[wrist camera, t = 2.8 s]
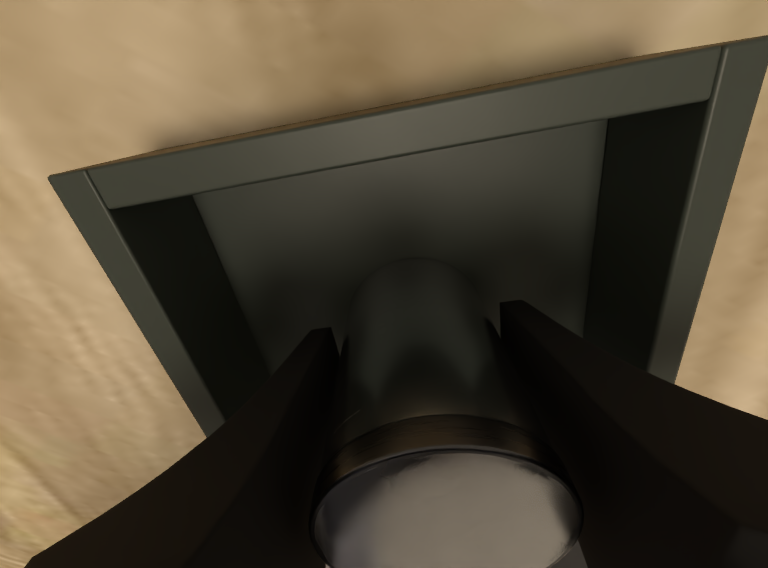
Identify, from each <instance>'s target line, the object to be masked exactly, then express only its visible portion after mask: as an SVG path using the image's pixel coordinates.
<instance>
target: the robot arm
mask: <svg viewBox="0 0 768 568" xmlns="http://www.w3.org/2000/svg"><path fill="white" fill-rule="evenodd" d="M500 335H501V341H502V343H503V345H504V347H505V349H506V351H507V353H508V355H509V357H510V359H511V362H512V364H513V366H514V368H515V370H516V372H517V374H518V376H519V378H520V380H521V382H522V385H523V387H524V389H525V391H526V393H527V395H528V397H529V399H530V401H531V403H532V406H533V408H534V410H535V412H536V414H537V416H538V418H539V420H540V422H541V424H542V426H543V429H544V431H545V433H546V435H547V437H548V439H549V441H550V443H551V445H552V447H553V449H554V451H555V452H556V453H557V454H558V456H559V457H560V458H561V460H562V461H563V463H564V465H565V467H566V469H567V471H568V473H569V475H570V477H571V480H572V482H573V484H574V486H575V488H576V490H577V492H578V494H579V496H580V498H581V500H582V505H583V510H584V522H583V527H582V530H581V534H580V536H579V537H578V542H579V545H580V547H581V550H582V553H583V556H584V558H585V561H586V564H587V567H588V568H768V420H766V419H763V418H760V417H758V416H755V415H752V414H749V413H746V412H744V411H741V410H738V409H735V408H732V407H730V406H727V405H725V404H722V403H719V402H717V401H714V400H712V399H709V398H707V397H704V396H702V395H699V394H697V393H694V392H691V391H689V390H687V389H684V388H682V387H679V386H677V385H675V384H672V383H670V382H668V381H666V380H663V379H661V378H659V377H657V376H655V375H653V374H650V373H648V372H646V371H644V370H642V369H640V368H637V367H635V366H633V365H631V364H629V363H627V362H625V361H623V360H621V359H619V358H618V357H616V356H614V355H612V354H610V353H608V352H607V351H605V350H603V349H601V348H599V347H597V346H596V345H594V344H592V343H590V342H589V341H587V340H585V339H583V338H582V337H580V336H578V335H577V334H575V333H573V332H572V331H570V330H569V329H567V328H565V327H564V326H562V325H561V324H559V323H558V322H556V321H554V320H553V319H551V318H550V317H548V316H547V315H545V314H544V313H542V312H541V311H539V310H538V309H536V308H535V307H533V306H532V305H530V304H528V303H527V302H525V301H524V300H522V299H521V300H514V301H507V302H500ZM339 360H340V355H339V352H338V348H337V345H336V342H335V338H334V335H333V332H332V328H331V327H326V328H319V329H312V330H311V331H310V332H309V333H308V334H307V335H306V336H305V337H304V338H303V340H302V341H301V342H300V343H299V344H298V346H297V347H296V348H295V349H294V350H293V352H292V353H291V354H290V355H289V356H288V357H287V359H286V360H285V361H284V362H283V363H282V364H281V365H280V367H279V368H278V369H277V370H276V371H275V372H274V374H273V375H272V376H271V377H270V378H269V379H268V380H267V381H266V382H265V383H264V384H263V385H262V386H261V387H260V388H259V389H258V391H257V392H256V393H255V394H254V395H253V396H252V397H251V398H250V399H249V400H248V401H247V402H246V403H245V404H244V405H243V406H242V407H241V408H240V409H239V410H238V411H237V412H236V413H235V414H234V415H233V416H231V417H230V418H229V419H228V420H227V421H226V422H225V423H224V424H223V425H221V426H220V427H219V428H218V429H217V430H216V431H215V432H214V433H212V434H211V435H210V436H209V437H208V438H206V439H205V440H204V441H203V442H201V443H200V444H199V445H198V446H196V447H195V448H194V449H193V450H191V451H190V452H189V453H188V454H186V455H185V456H184V457H183V458H181V459H180V460H179V461H177V462H176V463H175V464H174V465H172V466H171V467H170V468H169V469H167V470H166V471H164V472H163V473H162V474H160V475H159V476H158V477H156V478H155V479H153V480H152V481H151V482H149V483H148V484H146V485H145V486H144V487H142V488H141V489H139V490H138V491H136V492H135V493H133V494H132V495H131V496H129V497H128V498H126V499H125V500H123V501H122V502H120V503H119V504H117V505H116V506H114V507H113V508H111V509H110V510H108V511H107V512H105V513H104V514H102V515H101V516H99V517H97V518H96V519H94V520H92V521H91V522H89V523H88V524H86V525H84V526H83V527H81V528H80V529H78V530H76V531H75V532H73V533H72V534H70V535H68V536H67V537H65V538H63V539H62V540H60V541H59V542H57V543H55V544H54V545H52V546H51V547H49V548H47V549H46V550H44V551H42V552H41V553H39V554H37V555H35V556H34V557H32V558H31V560H30V561H29V562H28V563H27V565H26V566H25V567H24V568H330V567H329V566H328V565H327V564H326V563H325V562H324V561H323V560H322V559H321V558H320V557H319V555H318V554H317V552H316V551H315V549H314V547H313V545H312V542H311V540H310V535H309V528H308V525H309V515H310V510H311V504H312V499H313V493H314V488H315V484H316V481H317V478H318V476H319V474H320V470H321V464H322V459H323V453H324V447H325V441H326V435H327V430H328V424H329V418H330V412H331V407H332V401H333V395H334V389H335V384H336V378H337V372H338V366H339Z"/></svg>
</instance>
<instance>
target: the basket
mask: <svg viewBox="0 0 768 568" xmlns="http://www.w3.org/2000/svg"><path fill="white" fill-rule="evenodd" d="M767 66H768V35H766V36H760V37H753V38H747V39H741V40H735V41H729V42H723V43H716V44H710V45H704V46H698V47H692V48H685V49H679V50H673V51H667V52H661V53H655V54H648V55H642V56H636V57H631V58H626V59H620V60H615V61H610V62H605V63H600V64H595V65H590V66H585V67H580V68H575V69H569V70H564V71H559V72H554V73H549V74H544V75H539V76H534V77H529V78H524V79H518V80H513V81H508V82H503V83H498V84H493V85H488V86H483V87H478V88H473V89H467V90H462V91H457V92H452V93H447V94H442V95H437V96H432V97H427V98H422V99H416V100H411V101H406V102H401V103H396V104H391V105H386V106H381V107H376V108H371V109H365V110H360V111H355V112H350V113H345V114H340V115H335V116H330V117H325V118H320V119H315V120H309V121H304V122H299V123H294V124H289V125H284V126H279V127H274V128H269V129H264V130H258V131H253V132H248V133H243V134H238V135H233V136H228V137H223V138H218V139H213V140H207V141H202V142H197V143H192V144H187V145H182V146H177V147H172V148H167V149H162V150H156V151H152V152H148V153H143V154H139V155H135V156H131V157H126V158H122V159H118V160H113V161H109V162H105V163H101V164H96V165H92V166H88V167H83V168H79V169H75V170H70V171H66V172H62V173H58V174H53V175H50V176H49V177H48V180H49V182H50V184H51V185H52V187H53V188H54V190H55V192H56V193H57V195H58V197H59V198H60V200H61V201H62V203H63V205H64V206H65V208H66V210H67V211H68V213H69V214H70V216H71V218H72V219H73V221H74V223H75V224H76V226H77V227H78V229H79V231H80V232H81V234H82V236H83V237H84V239H85V240H86V242H87V244H88V245H89V247H90V249H91V250H92V252H93V253H94V255H95V257H96V258H97V260H98V262H99V263H100V265H101V266H102V268H103V270H104V271H105V273H106V274H107V276H108V278H109V279H110V281H111V283H112V284H113V286H114V287H115V289H116V291H117V292H118V294H119V296H120V297H121V299H122V300H123V302H124V304H125V305H126V307H127V309H128V310H129V312H130V313H131V315H132V317H133V318H134V320H135V322H136V323H137V325H138V326H139V328H140V330H141V331H142V333H143V335H144V336H145V338H146V339H147V341H148V343H149V344H150V346H151V348H152V349H153V351H154V352H155V354H156V356H157V357H158V359H159V361H160V362H161V364H162V365H163V367H164V369H165V370H166V372H167V374H168V375H169V377H170V378H171V380H172V382H173V383H174V385H175V387H176V388H177V390H178V391H179V393H180V395H181V396H182V398H183V400H184V401H185V403H186V404H187V406H188V408H189V409H190V411H191V413H192V414H193V416H194V417H195V419H196V421H197V422H198V424H199V426H200V427H201V429H202V430H203V432H204V434H205V435H206V437H207V438H208V437H209V436H210V435H211V434H212V433H214V432H215V431H216V430H217V429H218V428H219V427H220V426H221V425H223V424H224V423H225V422H226V421H227V420H228V419H229V418H230V417H231V416H233V415H234V414H235V413H236V412H237V411H238V410H239V409H240V408H241V407H242V406H243V405H244V404H245V403H246V402H247V401H248V400H249V399H250V398H251V397H252V396H253V395H254V394H255V393H256V392H257V391H258V389H259V388H260V387H261V386H262V385H263V384H264V383H265V382H266V381H267V380H268V379H269V378H270V377H271V376H272V375H273V374H274V372H275V371H276V370H277V369H278V368H279V367H280V365H281V364H282V363H283V362H284V361H285V360H286V359H287V357H288V356H289V355H290V354H291V353H292V352H293V350H294V349H295V348H296V347H297V346H298V344H299V343H300V342H301V341H302V340H303V338H304V337H305V336H306V335H307V334H308V333H309V332H310V331H311V330H312V329H319V328H326V327H331V328H332V332H333V335H334V338H335V342H336V345H337V348H338V352H339V355H341V349H342V343H343V337H344V332H345V326H346V320H347V314H348V309H349V304H350V301H351V298H352V296H353V294H354V292H355V290H356V288H357V287H358V285H359V284H360V283H361V282H362V281H363V280H364V278H366V277H367V276H368V275H369V274H370V273H371V272H373V271H374V270H376V269H377V268H379V267H381V266H383V265H385V264H387V263H390V262H393V261H396V260H400V259H405V258H414V257H417V258H430V259H436V260H439V261H443V262H445V263H448V264H450V265H452V266H454V267H456V268H457V269H459V270H460V271H462V272H463V273H464V274H465V275H466V276H467V277H468V278H469V279H470V280H471V281H472V282H473V284H474V285H475V287H476V288H477V290H478V293H479V295H480V297H481V299H482V301H483V303H484V305H485V307H486V309H487V311H488V313H489V316H490V318H491V320H492V322H493V324H494V326H495V328H496V330H497V332H498V334H499V336H500V339H501V335H500V302H507V301H514V300H521V299H522V300H524V301H525V302H527V303H528V304H530V305H532V306H533V307H535V308H536V309H538V310H539V311H541V312H542V313H544V314H545V315H547V316H548V317H550V318H551V319H553V320H554V321H556V322H558V323H559V324H561V325H562V326H564V327H565V328H567V329H569V330H570V331H572V332H573V333H575V334H577V335H578V336H580V337H582V338H583V339H585V340H587V341H589V342H590V343H592V344H594V345H596V346H597V347H599V348H601V349H603V350H605V351H607V352H608V353H610V354H612V355H614V356H616V357H618V358H619V359H621V360H623V361H625V362H627V363H629V364H631V365H633V366H635V367H637V368H640V369H642V370H644V371H646V372H648V373H650V374H653V375H655V376H657V377H659V378H661V379H663V380H666V381H668V382H670V383H672V384H674V383H675V380H676V377H677V373H678V370H679V366H680V363H681V359H682V356H683V353H684V349H685V346H686V342H687V339H688V336H689V332H690V329H691V325H692V322H693V318H694V315H695V312H696V308H697V305H698V301H699V298H700V295H701V291H702V288H703V284H704V281H705V277H706V274H707V271H708V267H709V264H710V260H711V257H712V254H713V250H714V247H715V243H716V240H717V236H718V233H719V230H720V226H721V223H722V219H723V216H724V213H725V209H726V206H727V202H728V199H729V196H730V192H731V189H732V185H733V182H734V178H735V175H736V172H737V168H738V165H739V161H740V158H741V155H742V151H743V148H744V144H745V141H746V137H747V134H748V131H749V127H750V124H751V120H752V117H753V114H754V110H755V107H756V103H757V100H758V96H759V93H760V90H761V86H762V83H763V79H764V76H765V73H766V69H767Z"/></svg>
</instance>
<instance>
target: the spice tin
mask: <svg viewBox="0 0 768 568" xmlns="http://www.w3.org/2000/svg"><path fill="white" fill-rule="evenodd" d="M583 522H584V510H583V505H582V500H581V498H580V496H579V494H578V492H577V490H576V488H575V486H574V484H573V482H572V480H571V477H570V475H569V473H568V471H567V469H566V467H565V465H564V463H563V461H562V460H561V458H560V457H559V456H558V454H557V453H556V452H555V451H554V449H553V447H552V445H551V443H550V441H549V439H548V437H547V435H546V433H545V431H544V429H543V426H542V424H541V422H540V420H539V418H538V416H537V414H536V412H535V410H534V408H533V406H532V403H531V401H530V399H529V397H528V395H527V393H526V391H525V389H524V387H523V385H522V382H521V380H520V378H519V376H518V374H517V372H516V370H515V368H514V366H513V364H512V362H511V359H510V357H509V355H508V353H507V351H506V349H505V347H504V345H503V343H502V341H501V339H500V336H499V334H498V332H497V330H496V328H495V326H494V324H493V322H492V320H491V318H490V316H489V313H488V311H487V309H486V307H485V305H484V303H483V301H482V299H481V297H480V295H479V293H478V290H477V288H476V287H475V285H474V284H473V282H472V281H471V280H470V279H469V278H468V277H467V276H466V275H465V274H464V273H463V272H462V271H460V270H459V269H457V268H456V267H454V266H452V265H450V264H448V263H445V262H443V261H439V260H436V259H430V258H417V257H414V258H405V259H400V260H396V261H393V262H390V263H387V264H385V265H383V266H381V267H379V268H377V269H376V270H374V271H373V272H371V273H370V274H369V275H368V276H367V277H366V278H364V280H363V281H362V282H361V283H360V284H359V285H358V287H357V288H356V290H355V292H354V294H353V296H352V298H351V301H350V304H349V309H348V314H347V320H346V326H345V332H344V337H343V343H342V349H341V355H340V360H339V366H338V372H337V378H336V384H335V389H334V395H333V401H332V407H331V412H330V418H329V424H328V430H327V435H326V441H325V447H324V453H323V459H322V464H321V470H320V474H319V476H318V478H317V481H316V484H315V488H314V493H313V499H312V504H311V510H310V515H309V525H308V528H309V535H310V540H311V542H312V545H313V547H314V549H315V551H316V552H317V554H318V555H319V557H320V558H321V559H322V560H323V561H324V562H325V563H326V564H327V565H328V566H329V567H330V568H550V567H551V566H553V565H554V564H555V563H557V562H558V561H559V560H561V559H562V558H563V557H564V556H565V555H566V554H567V553H568V552H569V551H570V549H571V548H572V547H573V546H574V544H575V543H576V541H577V539H578V537H579V536H580V534H581V530H582V527H583Z"/></svg>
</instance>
